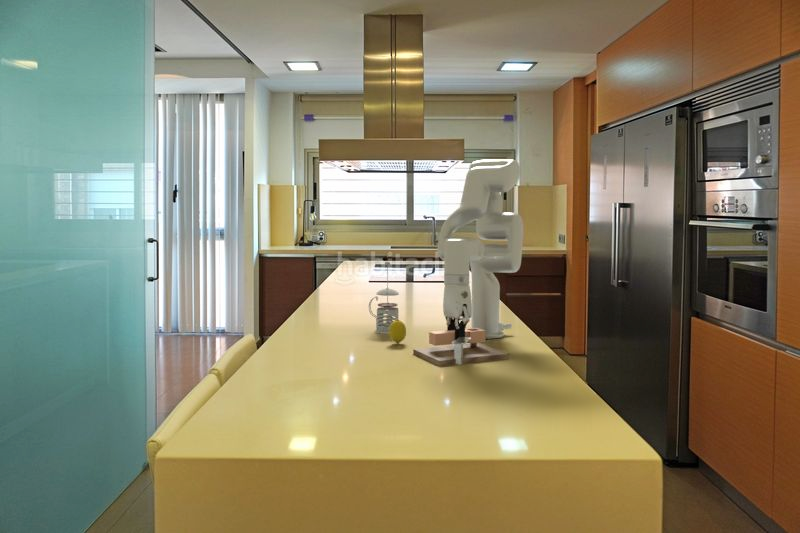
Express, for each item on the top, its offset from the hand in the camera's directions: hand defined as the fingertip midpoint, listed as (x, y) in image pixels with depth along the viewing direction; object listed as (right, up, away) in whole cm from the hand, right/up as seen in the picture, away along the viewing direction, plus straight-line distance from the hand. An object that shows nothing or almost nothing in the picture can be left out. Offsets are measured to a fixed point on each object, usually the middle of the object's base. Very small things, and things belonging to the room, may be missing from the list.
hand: (456, 339), depth 207 cm
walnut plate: (+1, -5, -3) cm, 5 cm away
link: (0, -1, 0) cm, 1 cm away
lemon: (-18, -3, +16) cm, 24 cm away
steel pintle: (+6, -3, +3) cm, 7 cm away
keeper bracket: (+1, -5, -10) cm, 11 cm away
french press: (-22, -1, +38) cm, 44 cm away
